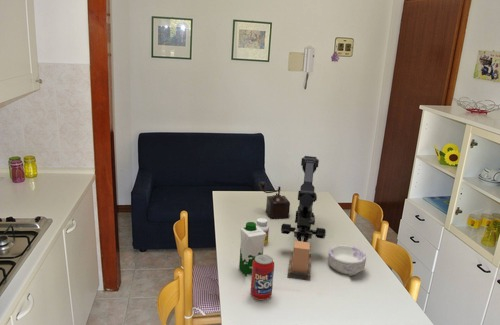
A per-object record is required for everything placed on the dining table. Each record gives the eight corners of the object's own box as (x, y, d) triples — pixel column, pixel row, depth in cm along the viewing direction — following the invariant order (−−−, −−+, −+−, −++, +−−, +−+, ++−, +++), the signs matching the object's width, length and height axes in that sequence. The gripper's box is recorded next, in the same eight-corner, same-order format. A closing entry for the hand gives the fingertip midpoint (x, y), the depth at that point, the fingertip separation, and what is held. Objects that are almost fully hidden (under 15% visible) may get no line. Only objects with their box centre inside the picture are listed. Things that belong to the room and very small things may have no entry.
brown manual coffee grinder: (282, 210, 229) (285, 180, 224) (289, 218, 219) (292, 187, 214) (255, 211, 226) (258, 180, 221) (261, 220, 215) (263, 187, 210)
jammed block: (292, 267, 169) (294, 240, 165) (306, 269, 168) (309, 242, 164) (291, 274, 163) (293, 247, 160) (306, 277, 162) (309, 249, 159)
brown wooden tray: (289, 258, 178) (290, 251, 177) (310, 261, 177) (311, 254, 176) (286, 280, 161) (287, 272, 160) (309, 284, 160) (310, 275, 159)
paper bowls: (319, 263, 176) (321, 247, 174) (349, 258, 182) (351, 242, 180) (340, 282, 162) (343, 265, 160) (371, 276, 168) (374, 259, 166)
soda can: (259, 286, 156) (261, 251, 152) (275, 295, 152) (279, 258, 148) (245, 295, 151) (248, 258, 146) (262, 304, 146) (265, 266, 142)
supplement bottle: (266, 250, 184) (268, 224, 180) (251, 248, 185) (253, 222, 182) (268, 243, 190) (270, 218, 187) (254, 241, 191) (256, 216, 188)
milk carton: (254, 264, 172) (258, 220, 167) (265, 274, 165) (269, 229, 159) (235, 268, 168) (238, 223, 163) (245, 279, 161) (249, 232, 155)
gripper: (283, 206, 174) (278, 241, 167) (328, 211, 171) (325, 248, 164) (283, 215, 183) (279, 249, 176) (325, 220, 181) (323, 255, 174)
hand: (301, 250), depth 172 cm, fingers closed
